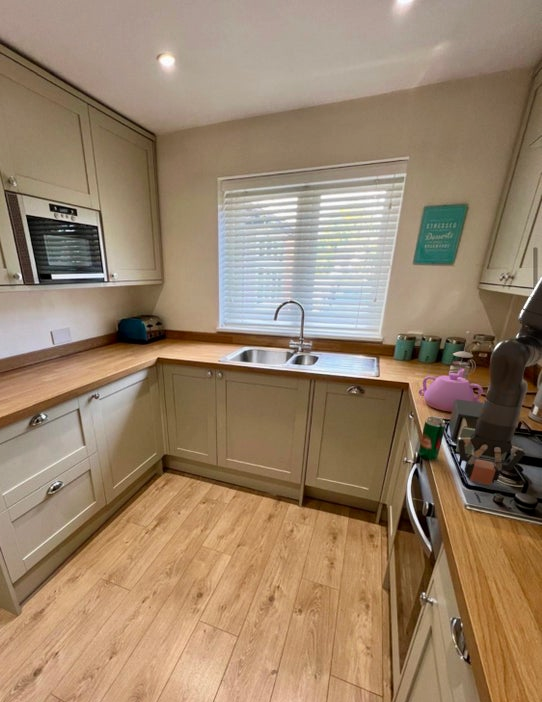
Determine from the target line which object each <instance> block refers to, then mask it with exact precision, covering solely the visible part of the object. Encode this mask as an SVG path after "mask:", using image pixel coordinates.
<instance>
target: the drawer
mask: <svg viewBox="0 0 542 702" xmlns="http://www.w3.org/2000/svg"><path fill="white" fill-rule="evenodd" d="M477 421H478V419H473V418H466V417H461V418H460V422H459V425H458V429H457V433H456V436H457V441H458V437H459V436H462V437H463V438H470V437H471V436H472V435H473V434H474V431H475V428H476V425H477ZM473 448H474V447H473V445H472V443H471V442H469V443H468V445H467V446H465V455H469V454H470V453H471V451H472V450H473ZM455 452H456V453H459V445H458V443H456V448H455ZM507 454H508V451H507V452H506V453H504V454H502V455H501V460H503V461H502V462H505V461H506V457H507ZM480 457H481V458H485V459H490V460H494V458H493V457H490V456H483V455H481V456H480ZM480 457H479V458H480Z"/></svg>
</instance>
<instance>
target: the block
mask: <svg viewBox="0 0 542 702" xmlns="http://www.w3.org/2000/svg"><path fill="white" fill-rule="evenodd" d="M473 465H474V466H473V469H472V473H471V476H470V477H469V481H471V482H476V483H479V484H483V485H484V484H485V485H487V486H491V485H492V483H493V482H492V480H493V477H494V474H495V471H496V470H495V467H494V466H495V464H494V461H488V460H483V459H479V458H478V459H477V460H476V461H475V462H474V463H473Z"/></svg>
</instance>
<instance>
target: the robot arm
mask: <svg viewBox="0 0 542 702" xmlns="http://www.w3.org/2000/svg"><path fill="white" fill-rule="evenodd" d="M517 321H518V323H519V324H520V326H519V330H518V332H517V334H516V336H515V337H509V338H504V339H503V340H501V341H500V342H498V343H496V345H495V347H494V348H493V350H492V352H491V354H490V361H489V385H488V387H487V391H486V395H485V399H484V400H483V402H482V403H483V405H482V407H481V411H480V414H479V417H478V421H477V425H476V428H475V431H474V434H473V435H472V436H471V437H470V438H463V437H462V436H459V437H458V442H457V444H458V445H459V452H458V453H459V459H460V461H462V462H465V466H464V468H463V469H464V474H465V475H466V477H468V478H470V476H471V473H472V469H473V466H474V465H473V463H474V462H475V461H476V460H477V459H479V458H480V456H481V455H483V456H490V457H493V458H494V459H493V464H494V467H495V470H496V471H495V474H494V477H493V480H492V483H494V482H497V481H498V480H499V478H500V475H501V472H502V471H504V470H506V471H512V470H513V469H514V468H515V466H516V465H517V464H518V463H519V462H520V460H522V458H523V457H524V456H525V454H526V453H525V452H524V451H525V450H524V449H523V448H522V447H521V446H515V445H513V444H512V441H513V438H514V435H515V432H516V429H517V426H518V423H519V422H520V417H521V414H522V408H523V404H524V402H525V401H524V400H525V398H526V395H527V392H528V382H527V380H525V379H524V373H525V370H526V368H527V367H531V366H535V365H536V364H538V363H539V362H541V360H542V275H541V276H540V277H539V279H538V280H537V282H536V284H535V286H534V287H533V288H532V291H531V292H530V294H529V296H528V298H527V299H526V301H525V302H524V305H523V306H522V308H521V309H520V312H519V314H518V318H517ZM469 442H471V443H472V445H473V447H474V448H473V450H472V451H471V453H470V454H465V446H467V445H468V443H469ZM506 452H507V453H508V452H510V455H509V456H508V457H507V459H505V460H504V461H502V460H501V455H502V454H504V453H506Z"/></svg>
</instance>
